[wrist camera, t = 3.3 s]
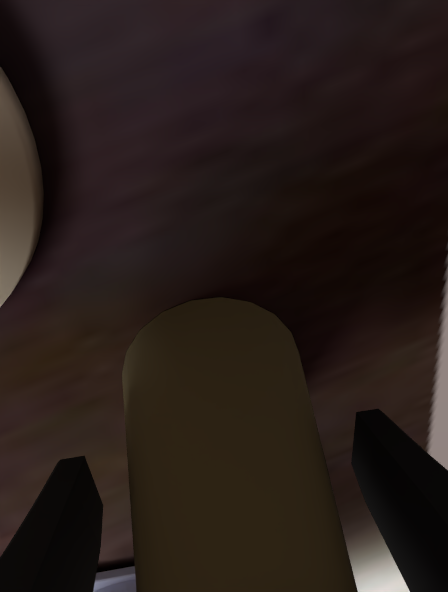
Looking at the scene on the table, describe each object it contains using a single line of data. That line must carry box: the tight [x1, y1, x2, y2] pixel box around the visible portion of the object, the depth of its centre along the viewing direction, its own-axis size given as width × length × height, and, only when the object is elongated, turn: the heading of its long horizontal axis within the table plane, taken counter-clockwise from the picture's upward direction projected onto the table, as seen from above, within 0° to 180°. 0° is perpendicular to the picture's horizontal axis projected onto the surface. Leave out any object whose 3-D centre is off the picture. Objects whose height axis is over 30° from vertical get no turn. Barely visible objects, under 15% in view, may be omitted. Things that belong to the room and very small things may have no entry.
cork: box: [122, 297, 357, 592], centre depth 9 cm, size 6×6×11 cm
